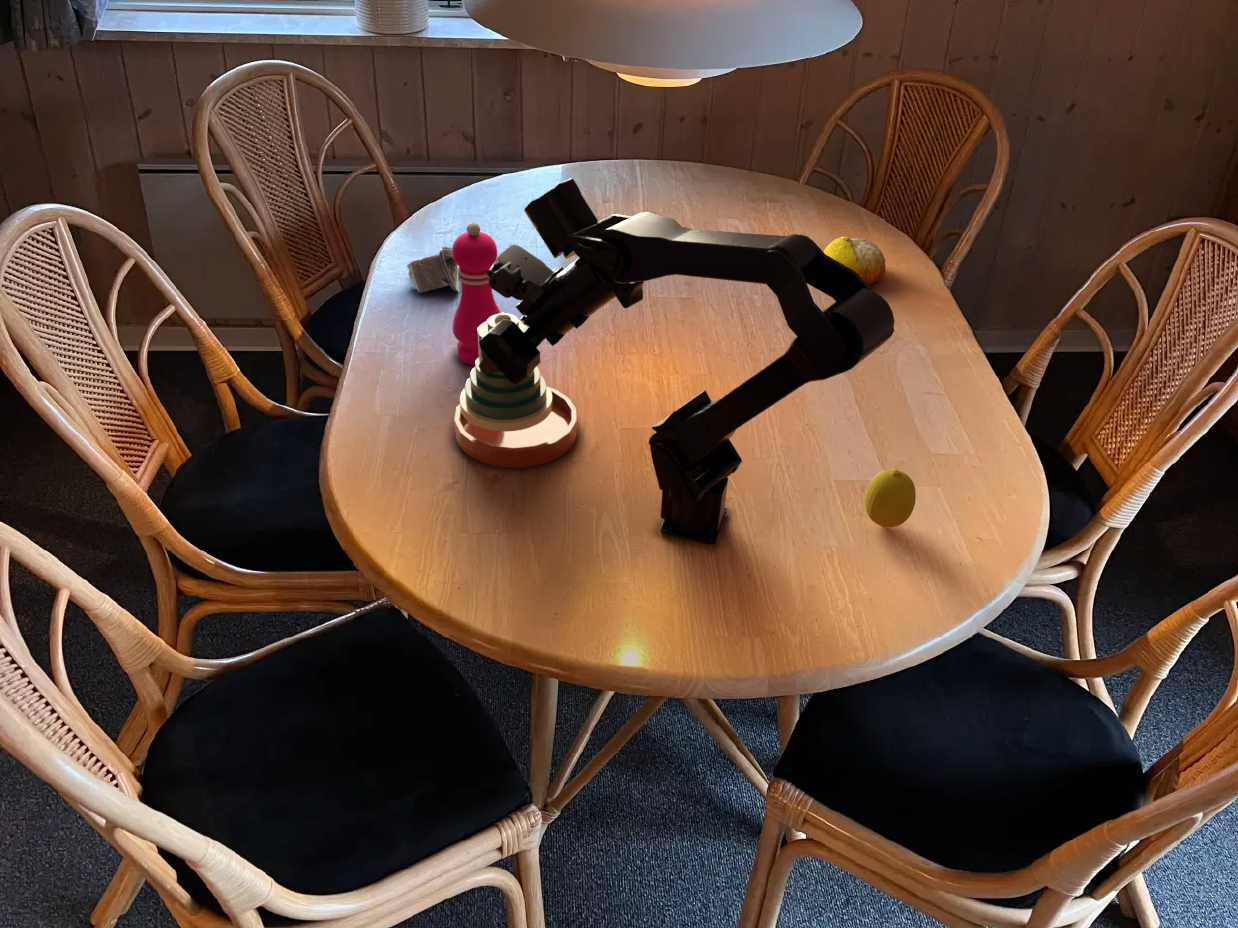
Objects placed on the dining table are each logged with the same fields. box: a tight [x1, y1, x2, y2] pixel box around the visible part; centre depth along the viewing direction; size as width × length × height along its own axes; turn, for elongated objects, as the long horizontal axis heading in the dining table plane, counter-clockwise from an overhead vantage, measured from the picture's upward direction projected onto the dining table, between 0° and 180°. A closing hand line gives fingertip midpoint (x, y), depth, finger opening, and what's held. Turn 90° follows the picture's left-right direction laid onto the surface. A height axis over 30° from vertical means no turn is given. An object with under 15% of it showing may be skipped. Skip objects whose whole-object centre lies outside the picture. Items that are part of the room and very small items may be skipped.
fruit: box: [823, 235, 886, 286], centre depth 172 cm, size 11×10×8 cm
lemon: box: [864, 468, 917, 528], centre depth 120 cm, size 6×6×8 cm
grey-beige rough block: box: [406, 246, 461, 294], centre depth 165 cm, size 10×7×12 cm
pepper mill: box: [451, 221, 502, 366], centre depth 144 cm, size 7×7×20 cm
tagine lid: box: [459, 312, 553, 432], centre depth 124 cm, size 11×11×13 cm
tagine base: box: [453, 387, 578, 468], centre depth 134 cm, size 15×16×3 cm
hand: (494, 356), depth 125 cm, fingers closed on tagine lid, 6 cm apart
